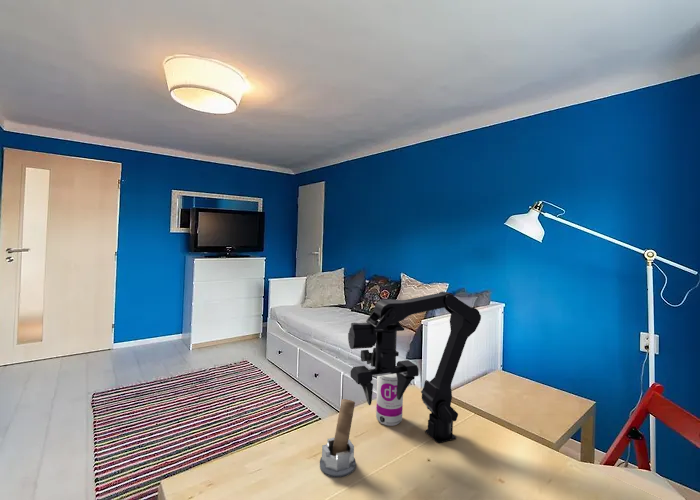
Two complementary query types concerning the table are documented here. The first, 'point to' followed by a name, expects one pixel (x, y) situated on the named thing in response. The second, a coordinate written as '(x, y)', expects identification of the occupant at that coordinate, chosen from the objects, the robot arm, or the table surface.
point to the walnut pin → (343, 426)
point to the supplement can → (388, 400)
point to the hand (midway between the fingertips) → (384, 401)
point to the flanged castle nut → (337, 460)
